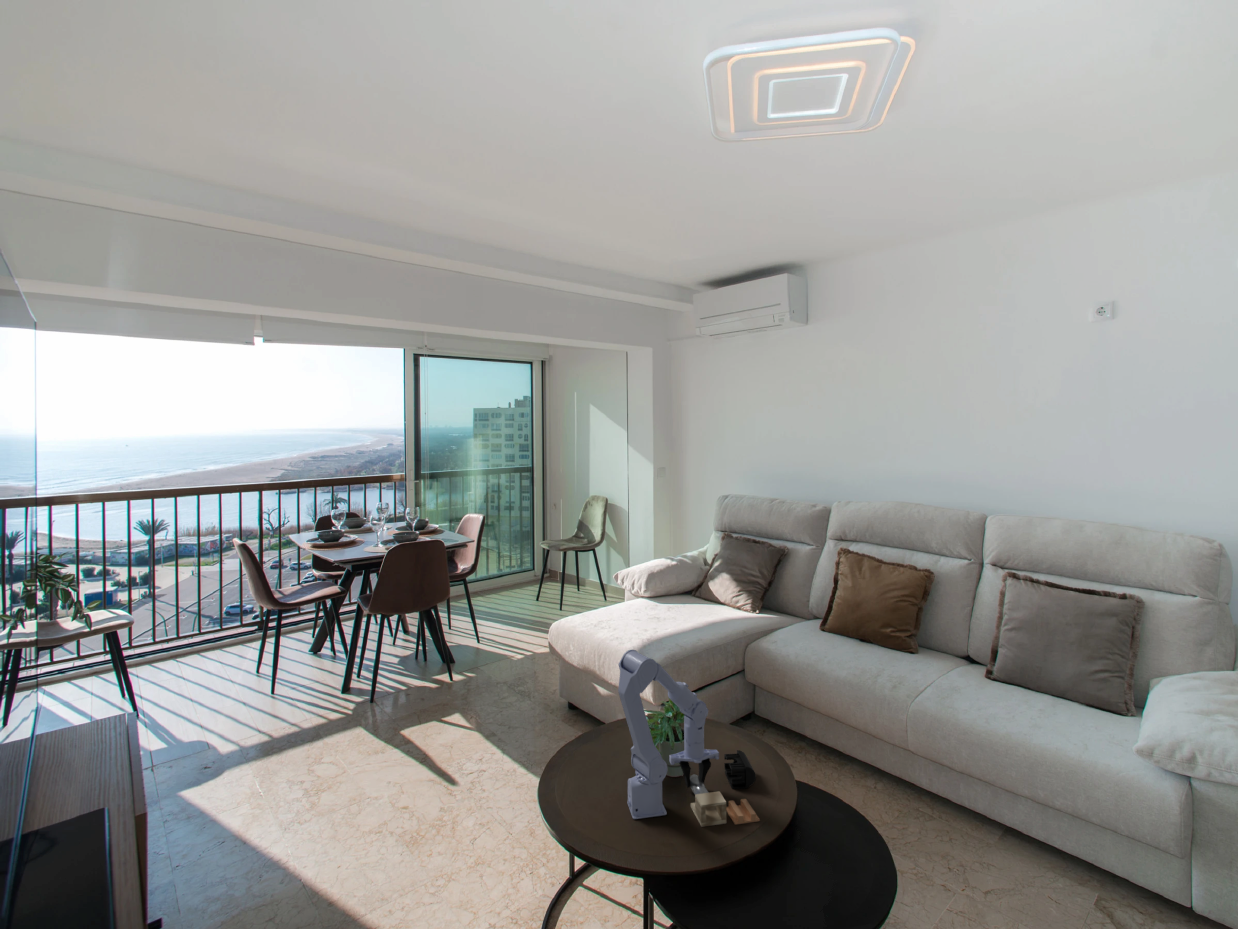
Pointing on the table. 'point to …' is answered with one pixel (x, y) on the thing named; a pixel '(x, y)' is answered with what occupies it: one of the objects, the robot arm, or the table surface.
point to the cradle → (741, 812)
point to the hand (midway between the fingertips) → (694, 784)
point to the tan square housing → (709, 808)
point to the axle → (697, 785)
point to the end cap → (739, 771)
